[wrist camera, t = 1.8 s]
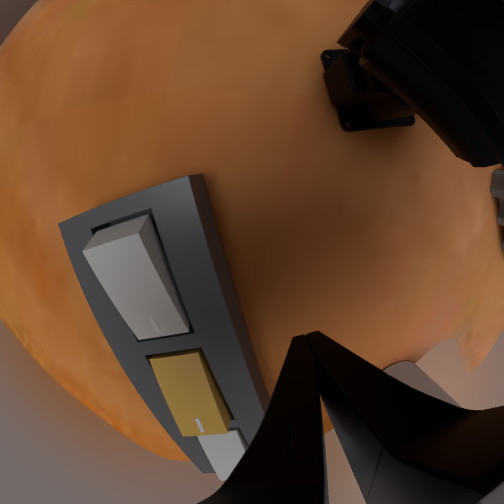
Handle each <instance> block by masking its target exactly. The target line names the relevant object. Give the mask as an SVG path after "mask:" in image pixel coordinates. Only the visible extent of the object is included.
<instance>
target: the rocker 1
mask: <svg viewBox="0 0 504 504" xmlns="http://www.w3.org/2000/svg"><path fill="white" fill-rule="evenodd" d="M82 252H83V254H84V256H85V257H86V259H87V261H88V263H89V264H90V266H91V268H92V270H93V271H94V273H95V275H96V276H97V278H98V280H99V281H100V283H101V285H102V286H103V288H104V290H105V291H106V293H107V294H108V296H109V297H110V299H111V301H112V302H113V304H114V305H115V307H116V308H117V310H118V311H119V313H120V314H121V316H122V317H123V318H124V320H125V321H126V323H127V324H128V326H129V327H130V328H131V330H132V331H133V333H134V334H135V335H136V337H137V338H138V339H139V340H141V339H148V338H155V337H161V336H167V335H173V334H179V333H185V332H189V327H190V319H189V316H188V313H187V311H186V308H185V306H184V303H183V301H182V298H181V295H180V293H179V290H178V287H177V284H176V282H175V279H174V276H173V273H172V270H171V268H170V265H169V262H168V259H167V256H166V253H165V251H164V248H163V246H162V244H161V242H160V239H159V237H158V235H157V232H156V230H155V228H154V225H153V223H152V220H151V218H150V216H149V214H147V215H144V216H141V217H138V218H135V219H132V220H129V221H126V222H123V223H120V224H117V225H114V226H111V227H108V228H105V229H102V230H100V231H97V232H96V233H95V235H94V236H93V237H92V239H91V240H90V241H89V243H88V244H87V245H86V247H85V248H84V249H83V251H82Z"/></svg>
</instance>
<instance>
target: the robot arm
mask: <svg viewBox="0 0 504 504" xmlns="http://www.w3.org/2000/svg"><path fill="white" fill-rule="evenodd" d="M337 43H338V44H340V45H341V46H343V47H344V48H345V47H347V48H348V49H338V50H325V51H323V52H322V54H321V59H322V62H323V65H324V68H325V72H324V74H323V75H324V78H325V82H326V85H327V88H328V92H329V95H330V98H331V102H332V104H333V105H334V106H335V107H336V109H337V112H338V116H339V120H340V124H341V127H342V129H343V130H344V131H346V132H351V131H359V130H367V129H377V128H387V127H400V126H411V125H413V124H414V123H415V118H414V115H416V114H418V115H419V116H420V117H421V118H422V119H423V120H424V121H425V122H426V123H427V124H428V125H429V126H430V127H431V128H432V129H433V131H434V132H435V133H436V134H437V135H438V136H439V137H440V138H441V139H442V140H443V142H444V143H445V144H446V145H447V146H448V147H449V148H450V150H451V151H452V152H453V153H454V154H455V156H456V157H458V158H460V159H462V160H464V161H466V162H470V164H471V165H472V166H473V167H488V166H493V165H497V164H500V163H501V164H502V166H503V168H504V0H369V1H368V2H367V3H366V5H365V6H364V7H363V8H362V10H361V11H360V12H359V14H358V15H357V16H356V17H355V19H354V20H353V21H352V23H351V24H350V25H349V26H348V28H347V29H346V30H345V32H344V33H343V34H342V36H341V37H340V38H339V40H338V41H337ZM325 55H329V56H330V58H327V57H326V56H325ZM407 118H409V119H410V122H409V121H408V119H407ZM346 122H349V123H350V128H348V127H347V126H346ZM320 396H321V399H322V401H323V404H324V406H325V408H326V410H327V413H328V415H329V417H330V420H331V422H332V424H333V427H334V429H335V431H336V434H337V436H338V438H339V441H340V443H341V445H342V448H343V450H344V452H345V455H346V457H347V459H348V461H349V464H350V466H351V469H352V471H353V473H354V476H355V478H356V480H357V483H358V485H359V487H360V490H361V492H362V495H363V497H364V499H365V501H366V504H504V406H500V407H495V408H491V409H485V410H469V409H464V408H461V407H458V406H456V405H453V404H451V403H448V402H445V401H443V400H440V399H438V398H435V397H433V396H431V395H428V394H426V393H423V392H421V391H419V390H417V389H415V388H412V387H410V386H409V385H407V384H405V383H403V382H401V381H399V380H398V379H396V378H394V377H393V376H391V375H388V374H387V373H386V372H384V371H382V370H381V369H379V368H377V367H376V366H374V365H373V364H371V363H369V362H368V361H366V360H364V359H363V358H361V357H359V356H358V355H356V354H355V353H353V352H351V351H350V350H348V349H347V348H345V347H343V346H342V345H340V344H339V343H337V342H335V341H334V340H332V339H331V338H329V337H327V336H326V335H324V334H323V333H321V332H320V331H315V332H311V333H307V334H306V335H299V336H295V337H293V338H292V341H291V344H290V347H289V350H288V352H287V355H286V358H285V361H284V364H283V367H282V369H281V372H280V375H279V378H278V380H277V383H276V386H275V388H274V391H273V394H272V396H271V399H270V402H269V404H268V407H267V410H266V412H265V414H264V417H263V419H262V421H261V424H260V426H259V428H258V430H257V432H256V434H255V436H254V438H253V439H252V441H251V443H250V445H249V446H248V448H247V450H246V451H245V453H244V454H243V456H242V457H241V459H240V460H239V462H238V463H237V465H236V466H235V468H234V469H233V471H232V472H231V474H230V475H229V477H228V478H227V480H226V481H225V482H224V484H223V485H222V486H221V487H220V488H219V489H218V490H217V491H216V492H215V493H214V494H213V495H211V496H210V497H208V498H206V499H205V500H203V501H201V502H199V503H197V504H329V499H328V498H329V496H328V480H327V464H326V452H325V440H324V429H323V419H322V409H321V400H320Z"/></svg>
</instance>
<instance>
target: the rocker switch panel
mask: <svg viewBox="0 0 504 504" xmlns="http://www.w3.org/2000/svg"><path fill="white" fill-rule="evenodd" d="M147 214H149V216H150V218H151V220H152V223H153V225H154V228H155V230H156V232H157V235H158V237H159V239H160V242H161V244H162V246H163V248H164V251H165V253H166V256H167V259H168V262H169V265H170V268H171V270H172V273H173V276H174V279H175V282H176V284H177V287H178V290H179V293H180V295H181V298H182V301H183V303H184V306H185V308H186V311H187V313H188V316H189V319H190V327H189V332H185V333H179V334H173V335H167V336H161V337H155V338H148V339H141V340H139V339H138V338H137V337H136V335H135V334H134V333H133V331H132V330H131V328H130V327H129V326H128V324H127V323H126V321H125V320H124V318H123V317H122V316H121V314H120V313H119V311H118V310H117V308H116V307H115V305H114V304H113V302H112V301H111V299H110V297H109V296H108V294H107V293H106V291H105V290H104V288H103V286H102V285H101V283H100V281H99V280H98V278H97V276H96V275H95V273H94V271H93V270H92V268H91V266H90V264H89V263H88V261H87V259H86V257H85V256H84V254H83V252H82V251H83V249H84V248H85V247H86V245H87V244H88V243H89V241H90V240H91V239H92V237H93V236H94V235H95V233H96V232H97V231H100V230H102V229H105V228H108V227H111V226H114V225H117V224H120V223H123V222H126V221H129V220H132V219H135V218H138V217H141V216H144V215H147ZM59 228H60V231H61V234H62V237H63V240H64V243H65V246H66V249H67V252H68V255H69V257H70V260H71V263H72V265H73V268H74V271H75V273H76V276H77V278H78V280H79V283H80V285H81V288H82V290H83V292H84V295H85V297H86V299H87V301H88V303H89V306H90V308H91V310H92V312H93V314H94V316H95V318H96V320H97V322H98V324H99V326H100V328H101V330H102V332H103V334H104V336H105V338H106V340H107V341H108V343H109V345H110V347H111V349H112V351H113V352H114V354H115V356H116V358H117V359H118V361H119V363H120V364H121V366H122V368H123V369H124V371H125V373H126V374H127V376H128V377H129V379H130V381H131V382H132V384H133V385H134V387H135V388H136V390H137V391H138V393H139V394H140V396H141V397H142V399H143V400H144V402H145V403H146V404H147V406H148V407H149V409H150V410H151V411H152V413H153V414H154V416H155V417H156V418H157V420H158V421H159V422H160V424H161V425H162V426H163V427H164V429H165V430H166V431H167V433H168V434H169V435H170V436H171V438H172V439H173V440H174V441H175V442H176V444H177V445H178V446H179V447H180V448H181V450H182V451H183V452H184V453H185V454H186V455H187V456H188V458H189V459H190V460H191V461H192V462H193V463H194V464H195V465H196V466H197V467H198V469H199V470H200V471H201V472H202V473H216V472H215V470H214V468H213V467H212V465H211V463H210V461H209V459H208V457H207V455H206V453H205V451H204V449H203V447H202V445H201V443H200V441H199V439H198V437H197V436H182V434H181V432H180V430H179V428H178V426H177V424H176V422H175V419H174V417H173V415H172V413H171V411H170V409H169V406H168V404H167V402H166V400H165V397H164V395H163V393H162V390H161V388H160V386H159V383H158V381H157V378H156V376H155V373H154V371H153V368H152V366H151V363H150V360H149V359H150V358H151V357H152V356H153V355H154V354H159V353H166V352H173V351H180V350H187V349H193V348H199V347H201V348H202V350H203V352H204V355H205V357H206V359H207V361H208V364H209V366H210V368H211V370H212V373H213V375H214V377H215V379H216V381H217V383H218V385H219V388H220V390H221V392H222V394H223V397H224V400H225V403H226V405H227V408H228V411H229V414H230V416H231V418H230V424H229V428H235V427H239V428H240V430H241V432H242V433H243V435H244V437H245V439H246V441H247V443H248V445H250V443H251V441H252V439H253V438H254V436H255V434H256V432H257V430H258V428H259V426H260V424H261V421H262V419H263V417H264V414H265V412H266V410H267V407H268V404H269V402H270V400H269V397H268V394H267V391H266V388H265V384H264V381H263V378H262V375H261V372H260V369H259V366H258V363H257V360H256V357H255V354H254V350H253V347H252V344H251V341H250V338H249V335H248V331H247V328H246V325H245V322H244V318H243V315H242V312H241V309H240V305H239V302H238V299H237V295H236V292H235V289H234V285H233V282H232V278H231V275H230V272H229V268H228V265H227V261H226V258H225V254H224V251H223V247H222V244H221V240H220V237H219V233H218V230H217V226H216V223H215V219H214V215H213V212H212V208H211V204H210V201H209V197H208V193H207V190H206V186H205V182H204V178H203V175H202V174H196V175H189V176H185V177H182V178H179V179H175V180H172V181H169V182H166V183H163V184H160V185H157V186H154V187H151V188H148V189H145V190H142V191H139V192H136V193H133V194H131V195H128V196H125V197H122V198H120V199H117V200H114V201H112V202H109V203H106V204H104V205H101V206H99V207H96V208H94V209H91V210H89V211H86V212H84V213H82V214H79V215H77V216H74V217H72V218H70V219H68V220H65V221H63V222H61V223H59Z"/></svg>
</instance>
